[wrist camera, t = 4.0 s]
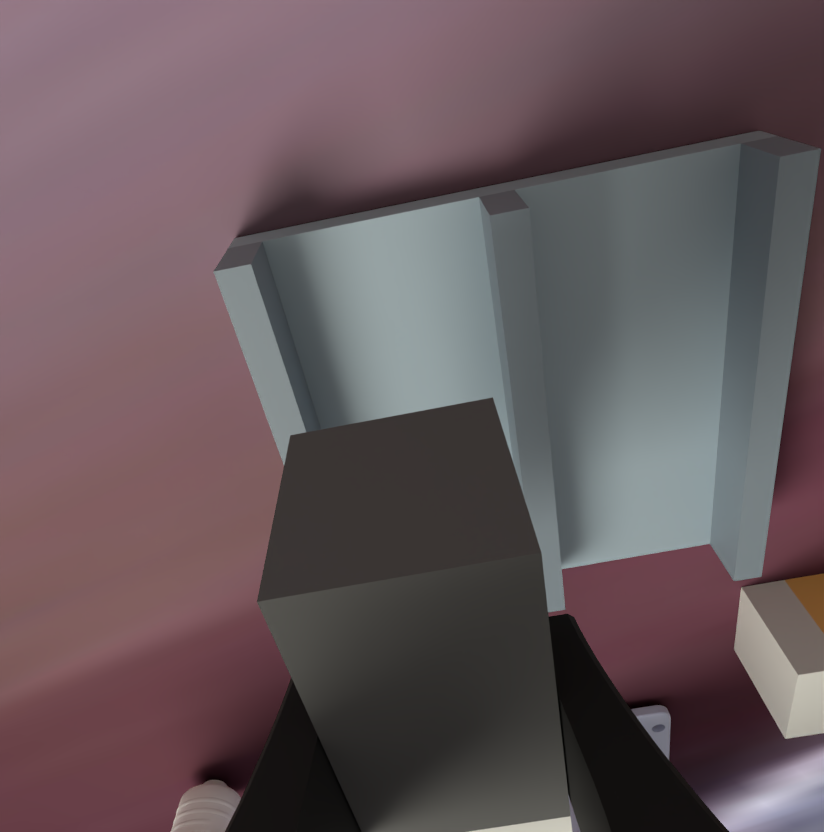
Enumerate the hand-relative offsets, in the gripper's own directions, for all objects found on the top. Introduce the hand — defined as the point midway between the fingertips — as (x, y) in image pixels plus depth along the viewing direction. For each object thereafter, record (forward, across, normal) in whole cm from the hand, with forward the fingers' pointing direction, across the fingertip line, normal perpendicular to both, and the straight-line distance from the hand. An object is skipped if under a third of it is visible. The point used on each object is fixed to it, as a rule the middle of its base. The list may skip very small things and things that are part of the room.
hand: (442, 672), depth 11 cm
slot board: (+8, -3, 0) cm, 9 cm away
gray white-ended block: (+2, 0, 0) cm, 2 cm away
